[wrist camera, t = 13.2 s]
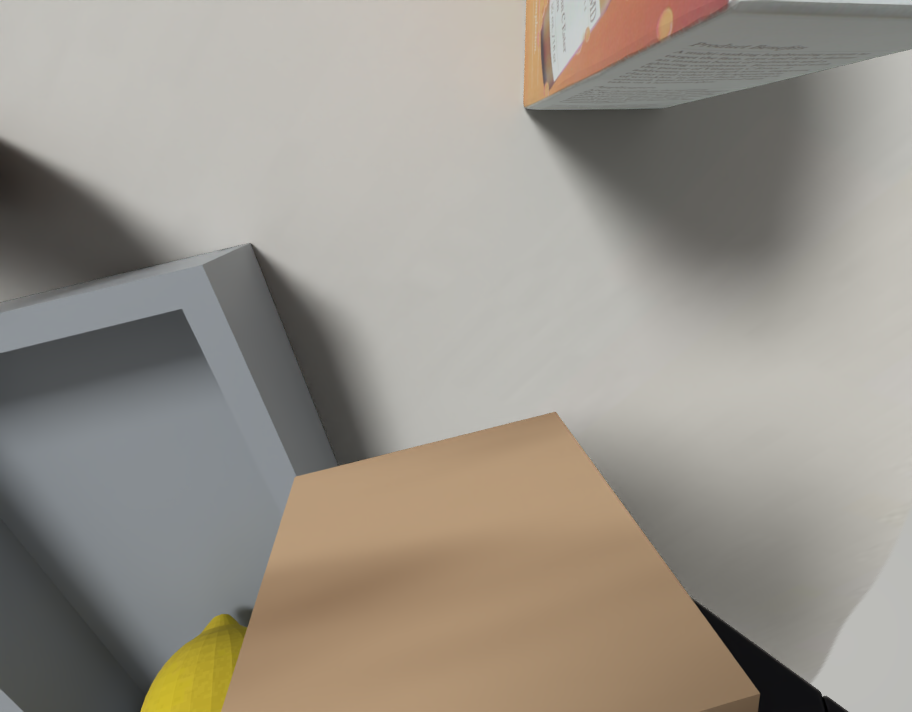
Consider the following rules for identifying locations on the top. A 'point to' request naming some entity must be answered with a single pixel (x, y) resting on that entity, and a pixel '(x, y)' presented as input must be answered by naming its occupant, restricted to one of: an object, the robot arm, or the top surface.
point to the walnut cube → (475, 591)
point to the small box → (694, 47)
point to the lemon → (198, 670)
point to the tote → (140, 472)
